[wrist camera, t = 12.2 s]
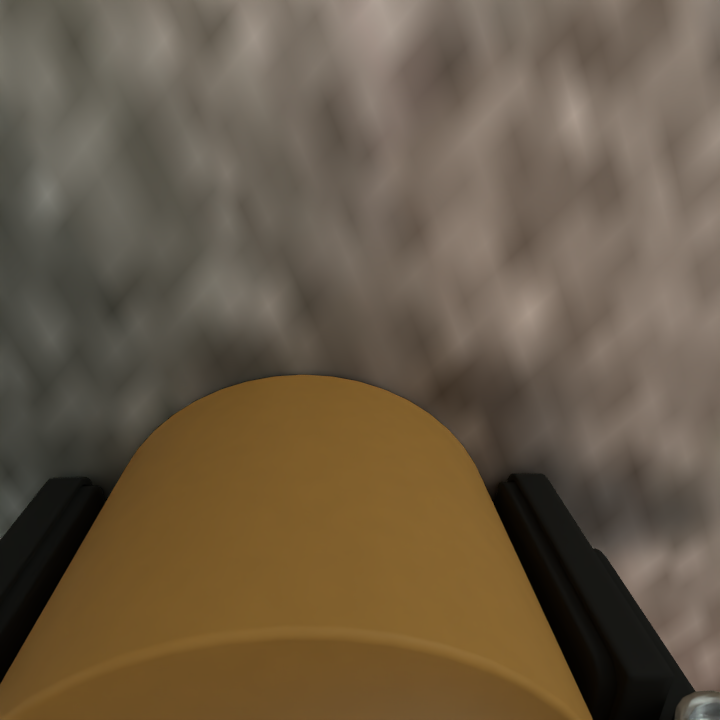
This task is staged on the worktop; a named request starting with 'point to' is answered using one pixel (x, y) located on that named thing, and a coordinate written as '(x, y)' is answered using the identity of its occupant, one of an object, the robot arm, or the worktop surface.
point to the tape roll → (295, 576)
